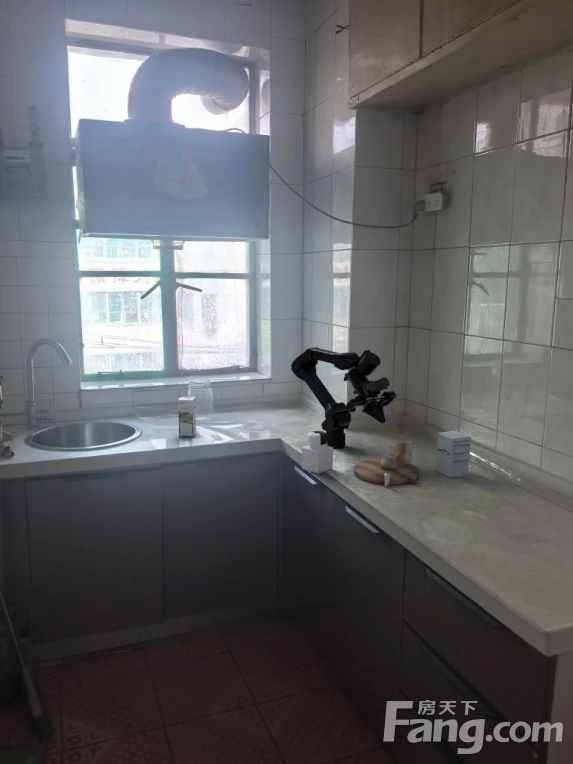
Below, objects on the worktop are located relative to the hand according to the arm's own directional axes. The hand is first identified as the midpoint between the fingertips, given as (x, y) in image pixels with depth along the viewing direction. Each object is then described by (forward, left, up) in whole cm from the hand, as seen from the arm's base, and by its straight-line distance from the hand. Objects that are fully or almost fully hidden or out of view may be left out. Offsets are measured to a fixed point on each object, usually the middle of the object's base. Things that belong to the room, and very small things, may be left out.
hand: (383, 422), depth 197 cm
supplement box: (+21, -6, -14) cm, 26 cm away
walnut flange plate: (+1, -11, -14) cm, 18 cm away
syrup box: (-73, +22, -14) cm, 77 cm away
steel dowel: (+1, -22, -14) cm, 26 cm away
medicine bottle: (-21, -9, -14) cm, 27 cm away
